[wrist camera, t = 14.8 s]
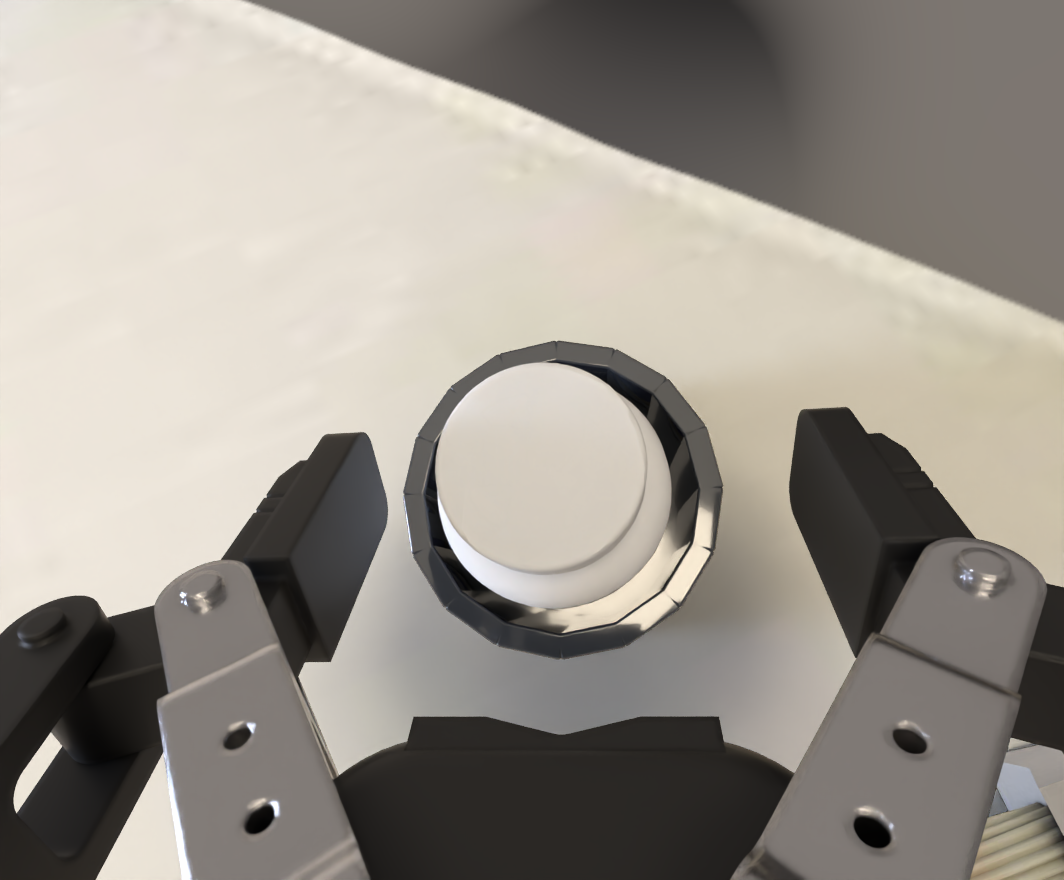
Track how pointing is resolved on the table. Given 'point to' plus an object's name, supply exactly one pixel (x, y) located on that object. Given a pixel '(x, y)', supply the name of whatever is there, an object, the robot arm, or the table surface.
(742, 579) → the table surface
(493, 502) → the pill bottle
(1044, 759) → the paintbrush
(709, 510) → the holder
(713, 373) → the table surface
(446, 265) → the table surface
